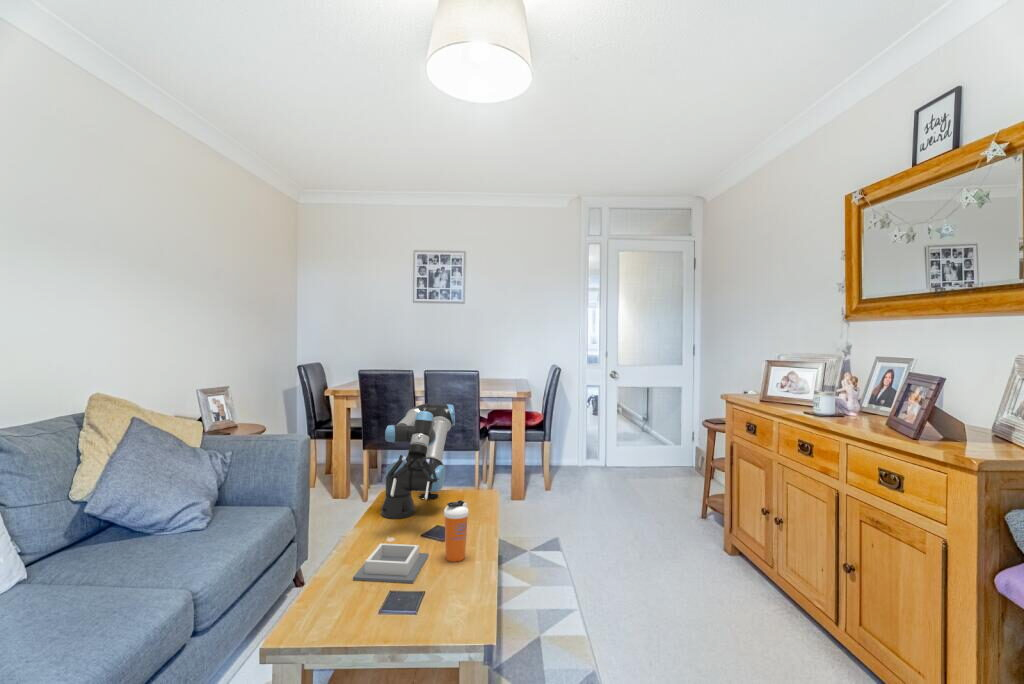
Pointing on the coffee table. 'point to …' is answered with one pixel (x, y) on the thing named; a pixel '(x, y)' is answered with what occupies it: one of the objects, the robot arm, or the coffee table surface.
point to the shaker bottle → (455, 530)
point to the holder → (393, 564)
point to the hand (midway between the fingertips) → (408, 497)
